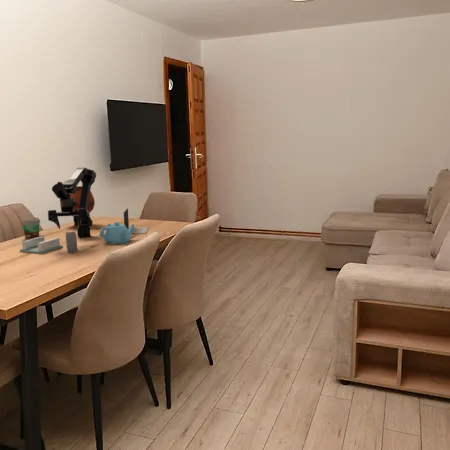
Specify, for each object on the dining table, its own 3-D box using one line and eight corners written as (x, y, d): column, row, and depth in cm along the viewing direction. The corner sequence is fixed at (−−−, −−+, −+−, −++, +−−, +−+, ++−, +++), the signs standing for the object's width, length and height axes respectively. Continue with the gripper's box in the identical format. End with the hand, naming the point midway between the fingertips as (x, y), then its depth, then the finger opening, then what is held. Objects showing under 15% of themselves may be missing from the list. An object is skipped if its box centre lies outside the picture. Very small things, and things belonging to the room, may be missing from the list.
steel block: (76, 249, 240) (74, 231, 239) (77, 252, 234) (76, 234, 232) (66, 250, 239) (65, 232, 237) (68, 253, 232) (66, 235, 231)
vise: (41, 245, 250) (40, 235, 249) (63, 247, 245) (62, 237, 244) (19, 251, 236) (18, 241, 235) (41, 253, 231) (41, 243, 230)
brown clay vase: (58, 228, 295) (55, 188, 290) (74, 223, 313) (72, 185, 309) (86, 229, 291) (84, 189, 286) (101, 224, 309) (99, 185, 305)
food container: (33, 239, 265) (31, 221, 264) (23, 238, 267) (21, 221, 265) (45, 234, 277) (44, 217, 275) (36, 234, 279) (34, 217, 277)
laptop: (146, 234, 277) (145, 212, 275) (124, 234, 276) (123, 212, 274) (148, 228, 295) (147, 207, 293) (128, 228, 294) (127, 207, 292)
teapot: (109, 238, 265) (108, 219, 264) (135, 239, 263) (134, 219, 261) (98, 244, 251) (97, 224, 249) (126, 245, 248) (125, 224, 246)
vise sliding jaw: (37, 243, 249) (37, 236, 249) (44, 244, 248) (44, 236, 247) (18, 248, 238) (18, 241, 237) (25, 249, 236) (25, 241, 235)
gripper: (46, 194, 237) (49, 219, 229) (85, 192, 244) (89, 216, 236) (47, 208, 245) (49, 232, 237) (84, 205, 252) (88, 229, 244)
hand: (69, 227), depth 238 cm, fingers open, 9 cm apart
